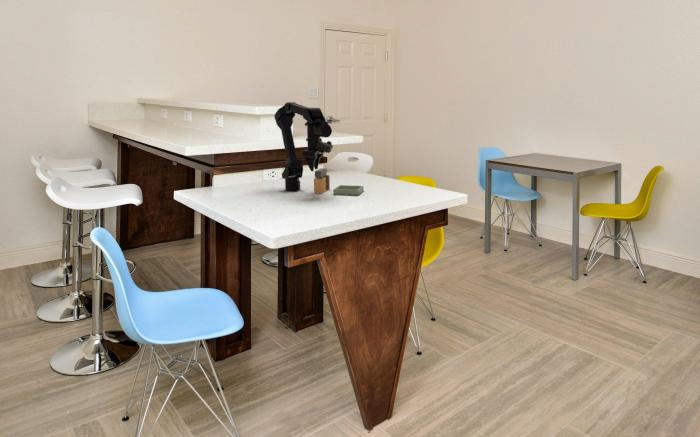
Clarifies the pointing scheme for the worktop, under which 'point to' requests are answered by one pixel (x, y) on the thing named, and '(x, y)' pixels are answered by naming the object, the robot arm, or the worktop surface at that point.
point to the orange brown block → (320, 185)
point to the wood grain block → (327, 182)
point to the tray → (348, 190)
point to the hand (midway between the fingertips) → (314, 170)
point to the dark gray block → (320, 173)
